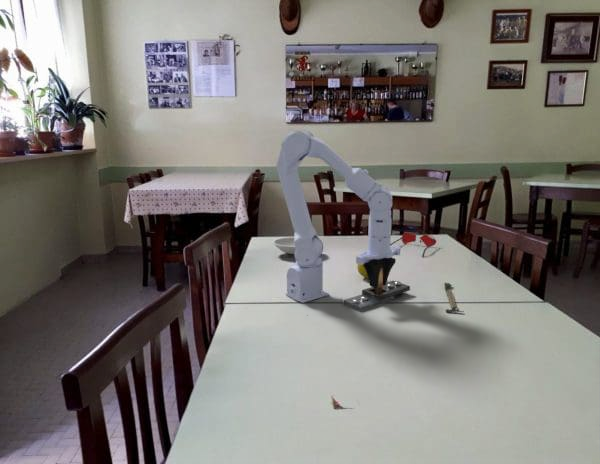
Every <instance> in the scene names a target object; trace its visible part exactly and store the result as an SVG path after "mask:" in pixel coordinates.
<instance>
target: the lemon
mask: <svg viewBox="0 0 600 464" xmlns="http://www.w3.org/2000/svg"><path fill="white" fill-rule="evenodd" d="M356 264H357V263H356ZM356 266H357V267H356V268H357V272H358V273H359V275H360V276H362V277H364V278H365V279H368V275H367V272H366V270H365V268H364V266H363V265H361V264H357V265H356Z"/></svg>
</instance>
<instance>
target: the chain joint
mask: <svg viewBox="0 0 600 464" xmlns="http://www.w3.org/2000/svg"><path fill="white" fill-rule="evenodd" d="M408 291H411V286H410V285H408V284H405V283H402V282H401V281H397V280H391V281H387V282H386V285H383V291H382V293H380V294H376V293H373V287H371V286H369V287H367V288H364V289H362V290H361V294H359V295H355V296H352V297H350V298H346V299H343V305H344V306H346V307H348V308H351V309H353V310H355V311H358V312H363V311H366V310H369V309H372V308H374V307H377V306H380V305H383V304H386V303H390V302H392V301H394V297H395V296H397V295H401V294H403V293H404V294H405V293H407V292H408Z"/></svg>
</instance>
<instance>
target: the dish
mask: <svg viewBox="0 0 600 464" xmlns="http://www.w3.org/2000/svg"><path fill="white" fill-rule="evenodd" d="M271 243H272V244H273V245H274V246H276V249H278V250H280V251H282V252H283V253H285V254H291V255H294V253H295V243H294V236H290V237H289V236H287V237H278V238H276V239H273V240H271Z"/></svg>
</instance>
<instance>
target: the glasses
mask: <svg viewBox="0 0 600 464" xmlns="http://www.w3.org/2000/svg"><path fill="white" fill-rule="evenodd" d="M418 235H419V236H420V237H419V242H420V244H422V243H423V244H424V246H426V247H425V248H424V250H423V252H422V255H421V258H424V256H425V253H426V251H427V249H429V248H430V247H432V246H434V245H436V243H437V240H436V238H435V237H434V236H432V235H430V234H420V233H412V232H411V233H410V232H403V233H402V235H401V237H400V238H398V239H397V240H395V241H393V242H391V243H390V247H392V245H394V244H396V243H397V242H399V241H400V240H401V242H402V243H403V245H404V244H408V243H416V239H417V236H418Z"/></svg>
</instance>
